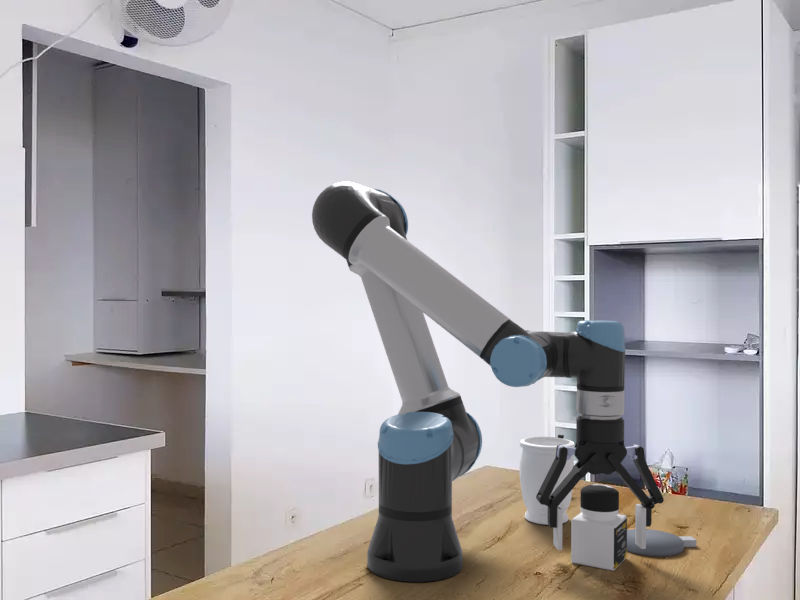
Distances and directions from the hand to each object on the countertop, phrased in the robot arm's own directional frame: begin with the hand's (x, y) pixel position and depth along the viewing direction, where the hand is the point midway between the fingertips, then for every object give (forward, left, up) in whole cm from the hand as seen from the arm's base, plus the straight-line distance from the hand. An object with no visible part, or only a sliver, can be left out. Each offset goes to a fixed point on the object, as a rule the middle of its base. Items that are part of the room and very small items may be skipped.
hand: (599, 546), depth 125 cm
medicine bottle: (0, 0, -2) cm, 2 cm away
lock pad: (+11, +8, -2) cm, 14 cm away
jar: (-3, +23, -2) cm, 23 cm away
